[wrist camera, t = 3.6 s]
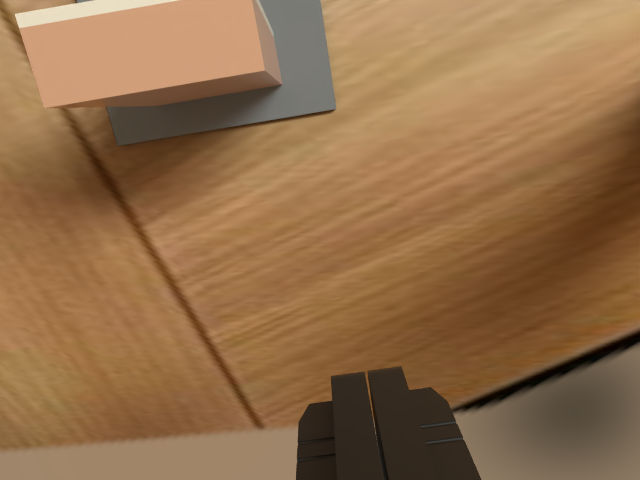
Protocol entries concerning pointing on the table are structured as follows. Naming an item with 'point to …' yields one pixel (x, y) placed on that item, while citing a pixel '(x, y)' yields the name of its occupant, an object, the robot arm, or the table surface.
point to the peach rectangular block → (148, 51)
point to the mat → (253, 105)
